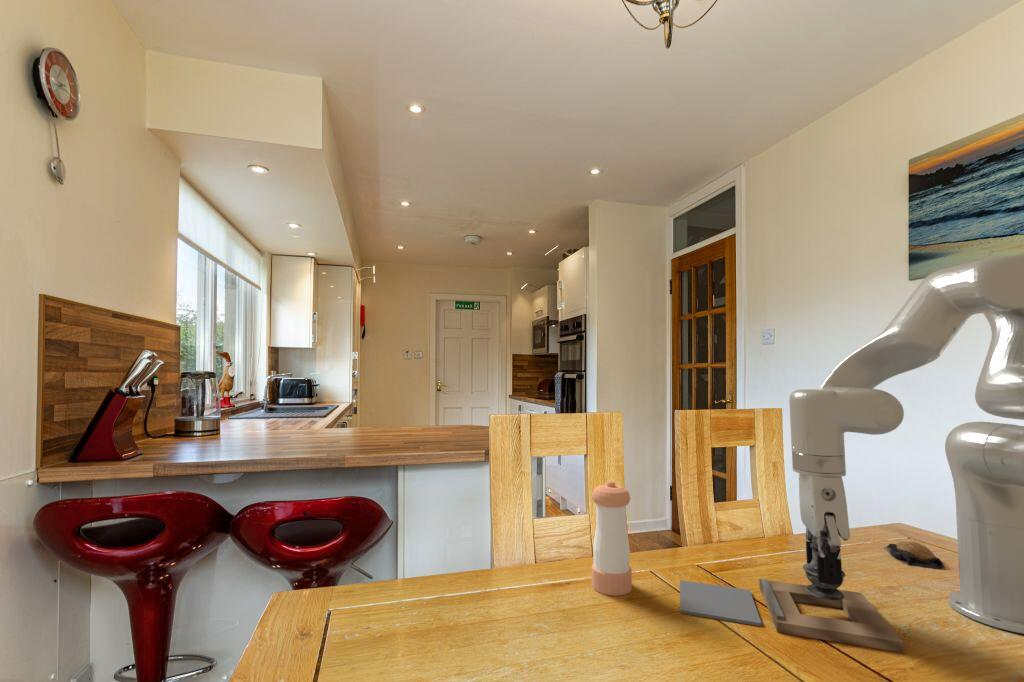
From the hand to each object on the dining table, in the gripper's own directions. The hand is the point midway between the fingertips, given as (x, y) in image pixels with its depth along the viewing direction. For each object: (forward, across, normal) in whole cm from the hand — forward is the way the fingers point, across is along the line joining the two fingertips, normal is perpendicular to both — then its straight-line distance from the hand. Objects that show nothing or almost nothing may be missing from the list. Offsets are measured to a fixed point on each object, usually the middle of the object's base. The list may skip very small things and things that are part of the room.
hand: (823, 573), depth 78 cm
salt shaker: (+3, 0, 0) cm, 3 cm away
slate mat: (+7, -1, +17) cm, 18 cm away
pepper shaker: (+6, -1, +35) cm, 35 cm away
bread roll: (+8, +35, -26) cm, 44 cm away
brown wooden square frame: (+7, 0, +1) cm, 7 cm away
